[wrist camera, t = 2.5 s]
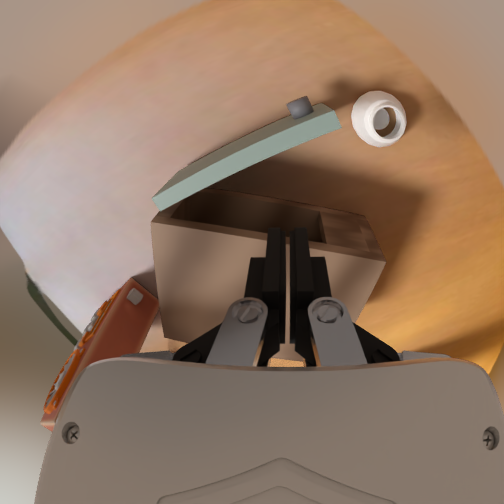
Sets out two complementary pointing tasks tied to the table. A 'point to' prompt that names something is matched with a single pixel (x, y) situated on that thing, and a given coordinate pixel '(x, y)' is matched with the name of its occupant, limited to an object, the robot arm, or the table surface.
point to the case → (243, 248)
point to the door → (250, 150)
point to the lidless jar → (377, 118)
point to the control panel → (105, 340)
